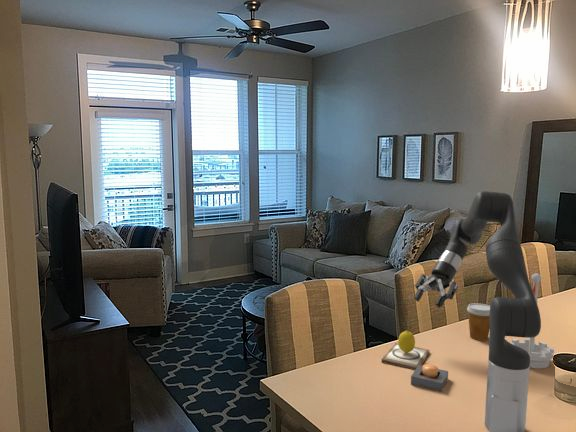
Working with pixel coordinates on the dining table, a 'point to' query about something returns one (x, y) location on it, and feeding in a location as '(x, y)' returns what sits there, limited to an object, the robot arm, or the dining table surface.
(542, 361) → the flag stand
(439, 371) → the button housing
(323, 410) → the dining table surface
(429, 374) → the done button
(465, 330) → the dining table surface
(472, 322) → the disposable coffee cup
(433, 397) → the dining table surface
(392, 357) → the drawing board
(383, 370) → the dining table surface
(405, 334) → the lemon
